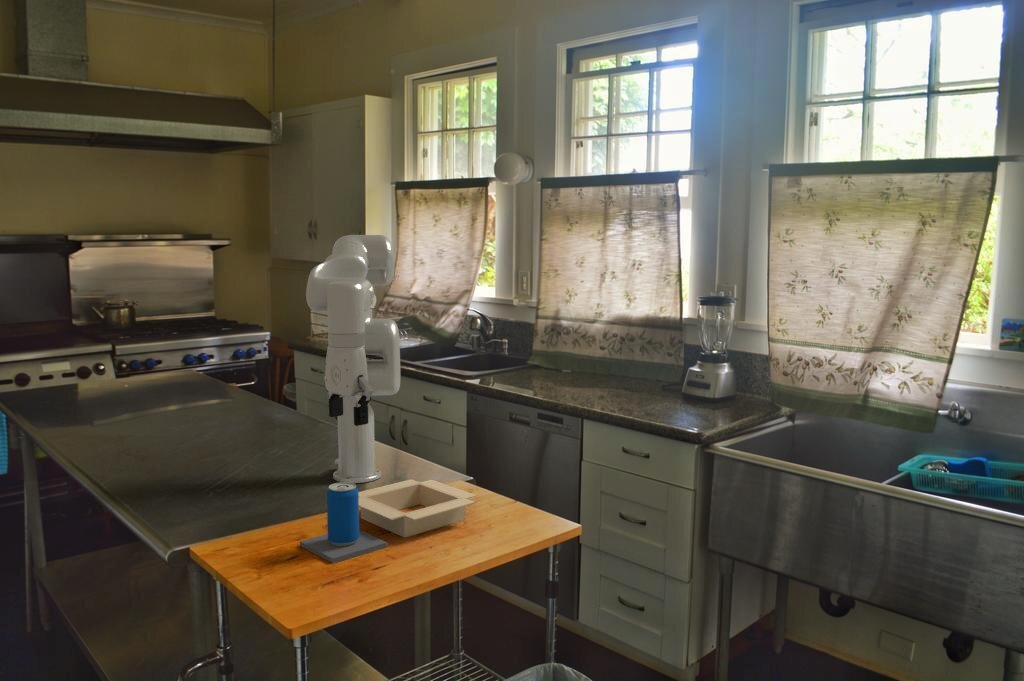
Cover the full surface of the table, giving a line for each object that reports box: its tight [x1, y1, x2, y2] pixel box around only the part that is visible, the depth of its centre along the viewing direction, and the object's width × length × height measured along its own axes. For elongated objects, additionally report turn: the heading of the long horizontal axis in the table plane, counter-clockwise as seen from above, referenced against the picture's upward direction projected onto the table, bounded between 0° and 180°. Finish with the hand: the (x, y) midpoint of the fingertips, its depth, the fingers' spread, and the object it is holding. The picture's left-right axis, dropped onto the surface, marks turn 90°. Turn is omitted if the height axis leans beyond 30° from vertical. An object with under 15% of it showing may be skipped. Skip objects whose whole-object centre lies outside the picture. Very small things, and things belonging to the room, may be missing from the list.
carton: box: [358, 478, 478, 538], centre depth 197 cm, size 24×24×5 cm
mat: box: [299, 529, 388, 564], centre depth 180 cm, size 13×13×1 cm
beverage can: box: [326, 482, 360, 546], centre depth 180 cm, size 6×6×12 cm
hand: (348, 420), depth 182 cm, fingers open, 9 cm apart
